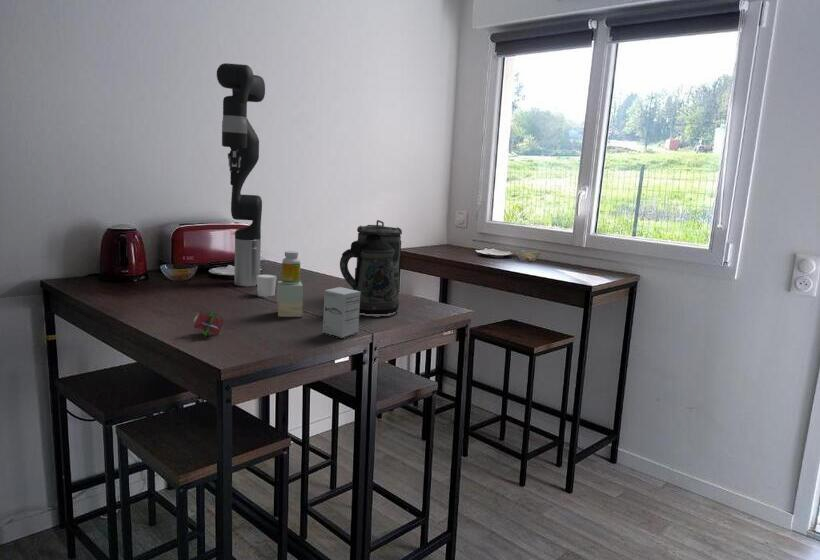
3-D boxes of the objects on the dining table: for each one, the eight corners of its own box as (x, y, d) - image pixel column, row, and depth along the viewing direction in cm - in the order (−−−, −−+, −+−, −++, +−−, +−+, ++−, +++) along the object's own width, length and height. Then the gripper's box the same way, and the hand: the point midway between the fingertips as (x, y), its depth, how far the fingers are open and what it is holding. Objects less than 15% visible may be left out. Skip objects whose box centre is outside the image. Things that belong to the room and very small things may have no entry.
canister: (348, 294, 221) (352, 217, 216) (389, 293, 227) (394, 219, 221) (360, 304, 206) (365, 222, 201) (404, 303, 212) (409, 223, 207)
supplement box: (321, 334, 168) (323, 289, 166) (339, 329, 175) (340, 286, 172) (342, 339, 164) (344, 294, 162) (359, 334, 171) (361, 290, 168)
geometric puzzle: (226, 322, 166) (208, 300, 162) (232, 329, 160) (213, 306, 156) (204, 339, 164) (185, 317, 160) (209, 346, 158) (190, 324, 154)
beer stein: (408, 312, 200) (413, 236, 196) (372, 322, 185) (376, 240, 180) (369, 303, 209) (372, 231, 205) (331, 312, 194) (334, 234, 189)
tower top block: (277, 296, 188) (277, 281, 187) (300, 296, 190) (300, 281, 189) (278, 301, 182) (279, 285, 181) (302, 301, 184) (302, 285, 183)
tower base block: (277, 312, 189) (277, 296, 188) (299, 312, 191) (300, 296, 190) (278, 318, 183) (279, 301, 182) (302, 317, 185) (302, 301, 184)
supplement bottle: (295, 285, 182) (296, 253, 180) (279, 284, 183) (279, 252, 181) (302, 282, 187) (303, 251, 185) (286, 281, 188) (286, 250, 186)
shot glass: (251, 296, 209) (252, 276, 207) (262, 292, 215) (263, 273, 214) (269, 298, 206) (269, 278, 205) (279, 295, 213) (280, 275, 212)
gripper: (247, 131, 182) (246, 186, 185) (246, 133, 195) (246, 184, 198) (221, 129, 179) (221, 185, 182) (222, 131, 193) (222, 183, 196)
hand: (234, 184), depth 190 cm, fingers open, 8 cm apart
